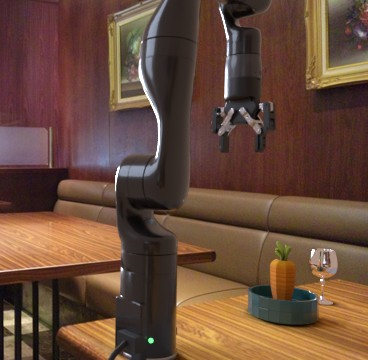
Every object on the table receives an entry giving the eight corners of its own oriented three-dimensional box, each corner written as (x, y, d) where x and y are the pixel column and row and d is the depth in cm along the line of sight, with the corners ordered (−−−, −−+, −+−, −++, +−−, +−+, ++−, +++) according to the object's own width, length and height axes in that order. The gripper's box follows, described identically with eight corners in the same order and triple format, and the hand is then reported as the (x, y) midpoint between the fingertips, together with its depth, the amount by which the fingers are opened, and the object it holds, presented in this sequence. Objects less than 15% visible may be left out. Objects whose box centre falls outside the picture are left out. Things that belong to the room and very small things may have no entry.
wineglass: (302, 300, 115) (303, 248, 115) (318, 297, 117) (320, 247, 117) (325, 306, 110) (326, 253, 109) (342, 303, 112) (343, 251, 112)
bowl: (295, 331, 94) (296, 305, 93) (234, 313, 104) (235, 290, 104) (330, 319, 101) (331, 295, 101) (270, 303, 112) (271, 282, 112)
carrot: (298, 318, 100) (300, 244, 99) (271, 316, 101) (273, 243, 100) (291, 311, 105) (293, 240, 104) (266, 309, 106) (267, 240, 105)
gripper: (204, 80, 111) (203, 152, 112) (263, 71, 99) (261, 152, 100) (225, 83, 115) (224, 153, 116) (284, 74, 103) (282, 152, 104)
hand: (241, 152), depth 108 cm, fingers open, 8 cm apart
